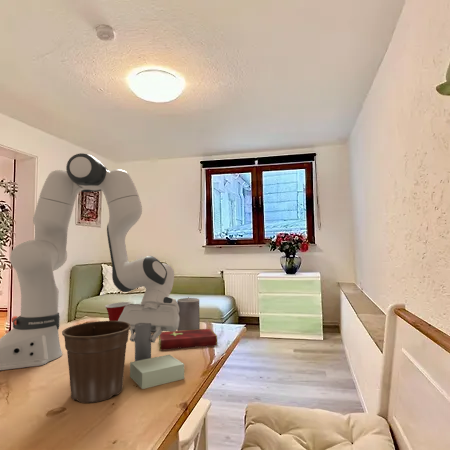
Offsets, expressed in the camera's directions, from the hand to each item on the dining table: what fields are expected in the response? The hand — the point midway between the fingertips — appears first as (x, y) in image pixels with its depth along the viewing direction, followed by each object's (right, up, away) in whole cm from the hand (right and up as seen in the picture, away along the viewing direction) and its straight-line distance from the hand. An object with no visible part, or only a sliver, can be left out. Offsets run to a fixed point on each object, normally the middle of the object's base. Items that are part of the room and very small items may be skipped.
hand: (142, 341), depth 105 cm
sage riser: (+7, -6, -12) cm, 15 cm away
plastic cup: (-21, -10, +41) cm, 47 cm away
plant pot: (-6, -6, -21) cm, 23 cm away
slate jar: (0, -7, 0) cm, 7 cm away
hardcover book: (+12, -9, +21) cm, 26 cm away
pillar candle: (+10, -10, +39) cm, 42 cm away
